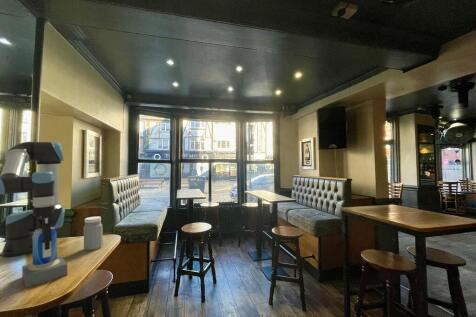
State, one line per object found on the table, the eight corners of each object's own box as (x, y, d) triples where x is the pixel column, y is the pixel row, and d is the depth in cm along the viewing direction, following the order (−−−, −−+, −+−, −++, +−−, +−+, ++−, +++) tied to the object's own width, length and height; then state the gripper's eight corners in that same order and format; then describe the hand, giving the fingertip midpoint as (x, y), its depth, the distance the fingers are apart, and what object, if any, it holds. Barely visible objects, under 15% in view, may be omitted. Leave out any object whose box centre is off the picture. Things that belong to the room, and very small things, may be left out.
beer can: (42, 268, 98) (41, 231, 99) (27, 267, 100) (27, 230, 101) (61, 260, 107) (60, 226, 107) (47, 259, 109) (47, 225, 109)
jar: (81, 252, 130) (81, 220, 130) (85, 246, 139) (85, 217, 139) (101, 249, 134) (101, 218, 134) (104, 243, 143) (103, 215, 143)
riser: (22, 277, 103) (22, 265, 103) (61, 266, 113) (60, 255, 113) (25, 288, 93) (25, 275, 93) (67, 274, 103) (67, 263, 104)
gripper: (29, 204, 109) (30, 248, 109) (36, 210, 92) (37, 263, 92) (49, 201, 115) (50, 244, 114) (59, 207, 98) (60, 257, 98)
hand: (44, 252), depth 103 cm, fingers open, 13 cm apart
